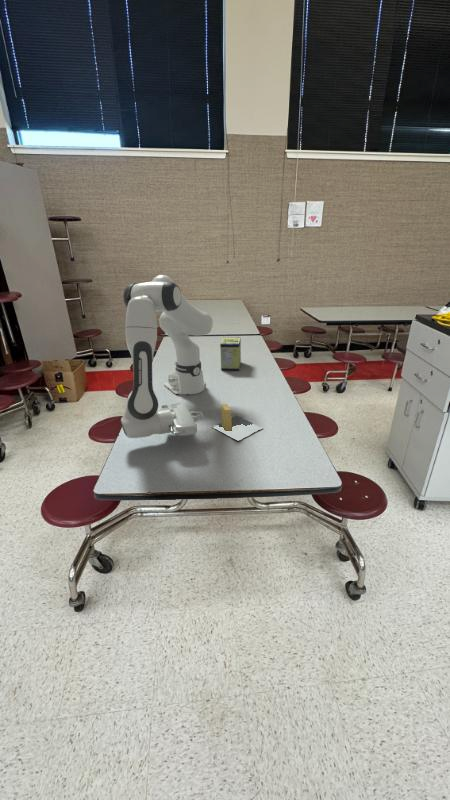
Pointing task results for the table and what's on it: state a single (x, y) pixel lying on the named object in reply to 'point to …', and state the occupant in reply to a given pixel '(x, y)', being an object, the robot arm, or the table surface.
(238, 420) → the mat
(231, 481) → the table surface
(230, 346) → the protein box
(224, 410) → the box
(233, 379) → the table surface
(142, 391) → the robot arm
